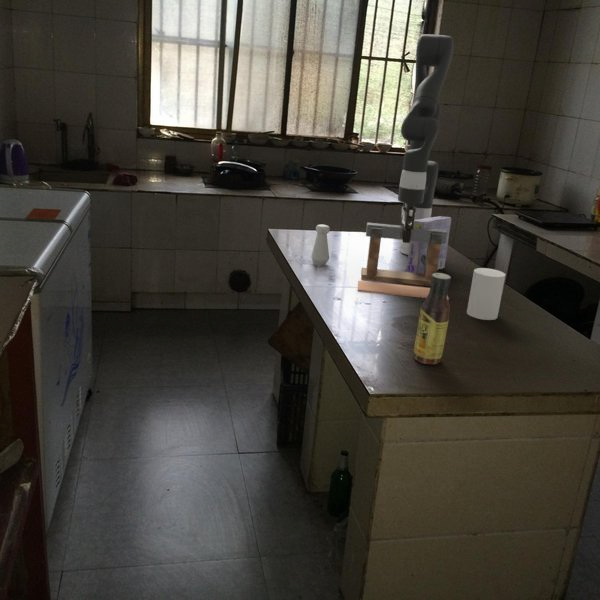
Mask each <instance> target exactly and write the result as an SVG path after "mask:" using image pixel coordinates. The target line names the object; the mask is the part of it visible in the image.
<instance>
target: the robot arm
mask: <svg viewBox="0 0 600 600" xmlns="http://www.w3.org/2000/svg"><path fill="white" fill-rule="evenodd" d="M454 47H455V46H454V38H453V37H452V36H451V35H443V34H426V33H425V34H421V35H420V36H419V38H418V40H417V43H416V50H415V51H416V53H415V83H414V94H413V103H412V107H411V108H410V110H409V112H408V113H407V115H405V118H404V119H403V122H402V124H401V127H400V128H401V129H400V133H401V136H402V138H403V139H404V140H405V141H407V142H408V141H409V149H408V150H406V151H405V152H404V154H403V155H404V157H403V162H402V163H403V164H402V171H401V175H400V181H399V186H398V188H399V189H398V195H397V196H398V197H397V201H398V202H400V203H403V206H402V207H401V226H404V228H403V229H404V233H403V240H400V247H399V249H400V250H399V252H400V253H401V254H404V255H406V256H407V255H408V253H409V245H410V238H411V231H412V230H413V228H414V227H413V226H414V222H415V220H418V219H424V218H431V217H432V211H433V210H432V209H433V204H434V198H435V197H434V195H435V191H436V185H437V180H438V175H439V163H438V162H437V161H434V160H429V158H430V154H431V150H432V148H433V146H434V143H435V141H436V138H437V136H438V135H439V131H440V122H441V121H440V120H441V112H442V104H441V102H440V100H439V99H440V94H441V90H442V87H443V84H444V82H445V80H446V77H447V74H448V71H449V68H450V66H451V63H452V60H453V55H454ZM427 67H433V68H435V69H434V70H433V71H432V72H431V73H430V74H429V75H428V71H427Z"/></svg>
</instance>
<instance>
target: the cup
mask: <svg viewBox="0 0 600 600" xmlns="http://www.w3.org/2000/svg"><path fill="white" fill-rule="evenodd" d="M471 279H472V281H471V285H470V292H469V297H468V303H467V308H466V309H467V310H466V314H467V315H468V316H469V317H472V318H475V319H478V320H483V321H486V320H487V321H492V320H493V321H495V320H496V319H498V315H499V311H500V305H501V300H502V295H503V291H504V284H505V280H506V273H504V272H503V271H500V270H498V269H495V268H494V269H493V268H488V267H487V268H486V267H478V268H474V270H473V274H472V278H471Z"/></svg>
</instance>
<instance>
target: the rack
mask: <svg viewBox="0 0 600 600" xmlns="http://www.w3.org/2000/svg"><path fill="white" fill-rule="evenodd" d="M381 234H382V228H374V227H372V233H371V237H369V244H368V246H369V247H368V253H367V254H368V255H367V260H366V262H367V263H366V267H361V271H360V273H361V274H360V278H361V280H363V281H365V280H366V281H373V282H383V283H393V284H395V283H396V284H403V285H404V284H405V285H413V284H414V285H413V286H423V285H425V286H426V287H431V277H432V274H434V273H438V270H437V267H438V261H439V254H440V248H441V241H442V234H436V233H432V237H431V242H428V248H427V255H426V262H425V268H424V274H421V273H411V272H406V271H400V270H390V269H381V268H378V267H379V266H378V265H379V258H380V252H381V251H380V250H381V241H382V238H381Z"/></svg>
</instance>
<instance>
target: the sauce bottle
mask: <svg viewBox="0 0 600 600" xmlns="http://www.w3.org/2000/svg"><path fill="white" fill-rule="evenodd" d="M451 280H452V277H451V275H449V274H446V273H443V272H437V273H434V274H432V277H431V286H429V288H430V291H429V294H428V296H427V298H424V301H423V304H422V305H421V307H420V311H419V312H420V313H419V317H418V322H417V323H418V324H417V330H416V337H415V340H414V341H415V343H414V346H413V352H414V353H413V358H414V360H416V361H417V362H419V363H420V364H422V365H430V366H431V365H432V366H433V365H438V364H439V363H440V362H441V358H442V356H443V352H444V347H445V343H446V336H447V331H448V325H449V320H450V319H449V318H450V317H449V316H450V312H451V305H450V302H449V300H447V296H448V294H449V293H448V291H449V285H450V284H451Z"/></svg>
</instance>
